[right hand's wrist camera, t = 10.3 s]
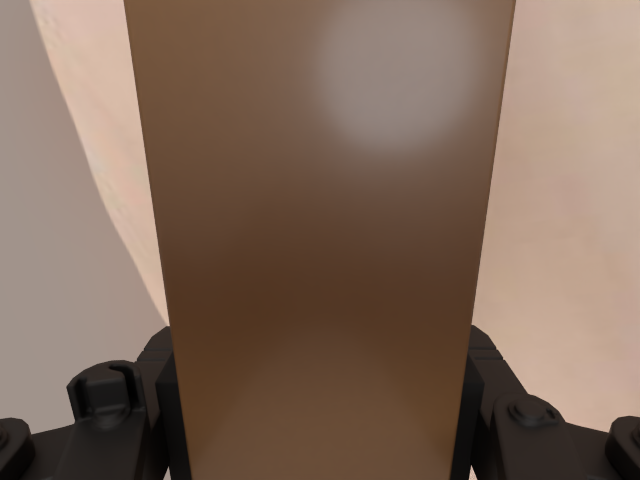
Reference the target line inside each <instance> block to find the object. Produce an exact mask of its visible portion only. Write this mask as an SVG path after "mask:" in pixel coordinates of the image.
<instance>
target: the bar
mask: <svg viewBox="0 0 640 480" xmlns="http://www.w3.org/2000/svg"><path fill="white" fill-rule="evenodd" d="M515 3H516V0H124V6H125V13H126V20H127V27H128V35H129V42H130V49H131V56H132V63H133V70H134V77H135V84H136V91H137V98H138V105H139V112H140V119H141V126H142V133H143V140H144V147H145V154H146V161H147V168H148V175H149V182H150V189H151V197H152V204H153V211H154V218H155V225H156V232H157V239H158V246H159V253H160V260H161V267H162V274H163V281H164V288H165V295H166V302H167V309H168V316H169V323H170V330H171V337H172V344H173V351H174V358H175V366H176V373H177V380H178V387H179V394H180V401H181V408H182V415H183V422H184V429H185V436H186V443H187V450H188V457H189V464H190V471H191V478H192V480H450V476H451V468H452V461H453V454H454V447H455V439H456V432H457V425H458V418H459V410H460V403H461V396H462V389H463V381H464V374H465V367H466V359H467V352H468V345H469V338H470V330H471V323H472V316H473V309H474V301H475V294H476V287H477V280H478V272H479V265H480V258H481V250H482V243H483V236H484V229H485V221H486V214H487V207H488V200H489V192H490V185H491V178H492V171H493V163H494V156H495V149H496V141H497V134H498V127H499V120H500V112H501V105H502V98H503V91H504V83H505V76H506V69H507V62H508V54H509V47H510V40H511V33H512V25H513V18H514V11H515Z"/></svg>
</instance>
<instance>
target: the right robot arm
mask: <svg viewBox="0 0 640 480" xmlns="http://www.w3.org/2000/svg"><path fill="white" fill-rule="evenodd" d="M66 388H67V392H68V395H69V399H70V403H71V407H72V411H73V415H74V418H75V423H74V424H72V425H69V426H66V427H62V428H58V429H53V430H49V431H45V432H40V433H36V434H32V435H31V432H30V429H29V426H28V424H27V423H26V422H24V421H23V420H22V419H16V418H5V419H0V480H163V479H164V476H165V474H166V471H167V469H168V466H169V470H170V476H171V480H192V478H191V471H190V464H189V457H188V450H187V443H186V436H185V429H184V422H183V415H182V408H181V401H180V394H179V387H178V380H177V373H176V366H175V358H174V351H173V344H172V337H171V330H170V326H166V327H165V328H163V329H162V330H161V331H159V332H158V333H157V334H155V335H154V336H152V337H151V339H150V340H149V342H148V343H147V345H146V346H145V348H144V351H142V352H141V354H140V355H139V357H138V358H137V361H135V362H134V363H133V362H129V361H125V360H114V361H108V362H104V363H100V364H96V365H94V366H92V367H90V368H88V369H85V370H83V371H82V372H81V373H79V374H78V375H77V376H75V377H74V378H73V379H72V380H71V381H70V383H69V384H68V385H67V387H66ZM471 465H472V468H473V470H474V472H475V475H476V477H477V480H640V417H634V416H625V417H619V418H617V419H616V420H615V421H614V422H613V423H612V425H611V428H610V431H609V433H607V432H603V431H598V430H594V429H590V428H585V427H581V426H577V425H574V424H570V423H567V422H565V420H564V419H563V417H562V416H561V414H560V412H559V411H558V410H557V409H555V408H554V407H553V406H552V405H551V404H549V403H548V402H546V401H544V400H542V399H540V398H538V397H536V396H534V395H530V394H528V393H527V392H526V390H525V389H524V387H523V386H522V384H521V383H520V381H519V380H518V379H517V377H516V376H515V374H514V373H513V371H512V370H511V368H510V367H509V365H508V364H507V362H506V361H505V360H503V357H502V355H501V354H500V352H499V351H498V350H496V346H495V345H494V343H493V342H492V341H491V339H490V338H489V336H488V335H487V334H485V333H484V332H483V331H481V330H480V329H478V328H477V327H476V326H474V325H471V330H470V338H469V345H468V352H467V359H466V367H465V374H464V381H463V389H462V396H461V403H460V410H459V418H458V425H457V432H456V439H455V447H454V454H453V461H452V468H451V476H450V480H469V475H470V469H471Z"/></svg>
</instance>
